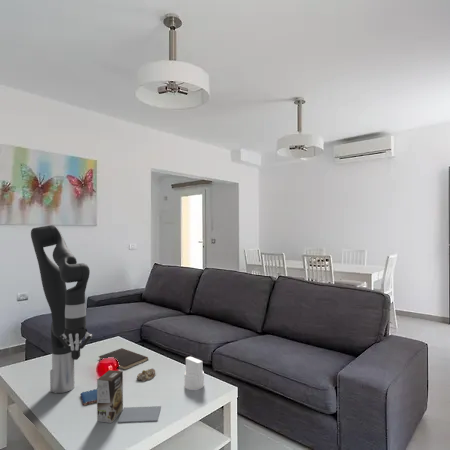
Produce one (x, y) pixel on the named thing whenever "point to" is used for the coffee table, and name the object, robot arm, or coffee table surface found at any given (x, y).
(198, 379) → the cylinder with rectangular tab
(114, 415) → the coffee box
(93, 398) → the woven mat
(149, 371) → the mineral rock
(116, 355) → the hardcover book
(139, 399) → the coffee table surface
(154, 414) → the mat
